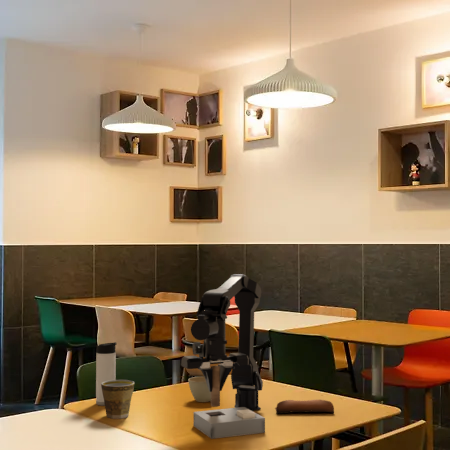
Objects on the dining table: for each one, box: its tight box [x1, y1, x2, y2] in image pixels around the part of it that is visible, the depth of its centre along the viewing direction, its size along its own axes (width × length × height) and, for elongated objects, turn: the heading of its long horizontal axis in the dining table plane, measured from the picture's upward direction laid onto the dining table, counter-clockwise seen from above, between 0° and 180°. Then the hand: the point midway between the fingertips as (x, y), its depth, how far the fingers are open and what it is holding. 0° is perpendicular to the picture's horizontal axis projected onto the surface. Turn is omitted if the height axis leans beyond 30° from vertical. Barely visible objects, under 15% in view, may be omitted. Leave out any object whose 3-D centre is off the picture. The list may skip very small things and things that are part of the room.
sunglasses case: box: [274, 399, 335, 415], centre depth 211 cm, size 18×7×7 cm, turn 92°
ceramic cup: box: [101, 379, 135, 420], centre depth 206 cm, size 13×10×10 cm
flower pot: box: [187, 376, 211, 403], centre depth 226 cm, size 10×10×7 cm
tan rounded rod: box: [210, 365, 221, 407], centre depth 192 cm, size 3×3×11 cm
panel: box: [192, 407, 266, 440], centre depth 191 cm, size 16×14×4 cm
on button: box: [237, 409, 256, 419], centre depth 189 cm, size 4×5×2 cm
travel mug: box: [95, 341, 117, 407], centre depth 222 cm, size 6×7×20 cm
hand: (215, 391), depth 192 cm, fingers closed on tan rounded rod, 3 cm apart
